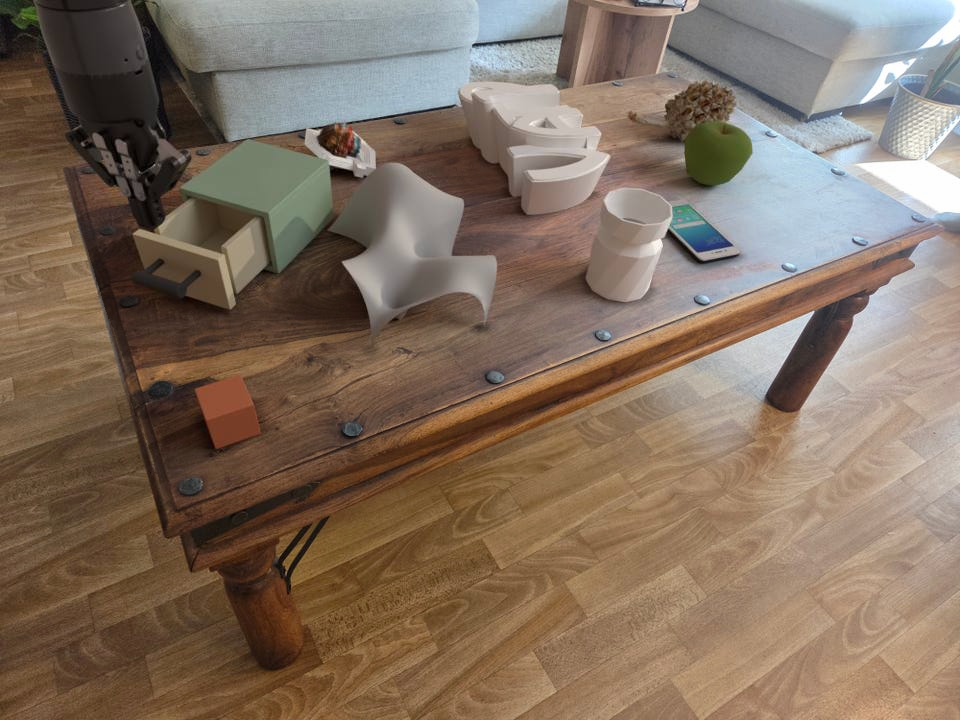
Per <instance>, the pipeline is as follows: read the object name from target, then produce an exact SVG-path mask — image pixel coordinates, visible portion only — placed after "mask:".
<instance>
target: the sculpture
mask: <svg viewBox="0 0 960 720" xmlns="http://www.w3.org/2000/svg"><path fill="white" fill-rule="evenodd" d="M464 209H465V201H464V199H463V198H461V197H458V196H455V195H452V194H448V193H446V192H444V191H443V190H440V189H439V188H437V187H435V186H433V185H432V184H430V183H429V182H427V181H426V180H424V179H423V178H422V177H420V176H419V175H417V174H416V173H414V171H412V170H411V169H410V168H409V167H408V166H406V165H404V164H402V163H399V162H387V163H384V164H381V165H379V166H377V167H376V169H375V170H374V171H372V172H371V173H370V174H369V175H368V176H366V177H365V178H364V179H363V180H362V182H361V183H360V184H359V186H358V187H357V188H356V190H354V193H353V194H352V196H351V197H350V199H349V200H348V202H347V203H346V205H345V206H344V208H343V210H342V211H341V212H340V214H339V216H338V217H337V219H336V220H335V221H334V222H333V223H332V224H331V226H329V227H328V229H327V230H326V231H327V232H331V233H335V234H339V235H341V236H344V237H346V238H349V239H352V240H354V241H356V242H358V243H359V244H361V245H362V246H364V247H365V248H366V249H365V250H364V251H363V252H362V253H360V254H358V255H357V256H355V257H353V258H349V259H346V260H341V263H342V265H343V266H344V268H345V269H346V270H347V271H348V273H349V274H350V276H351V277H352V279H353V280H354V282H355V284H356V285H357V287H358V289H359V292H360V293H361V295H362V297H363V300H364V303H365V305H366V310H367V313H368V318H369V327H370V341H369V350H370V349H371V347H372V345H373V343H374V341H375V339H376V338H377V337H378V335H379V333H380V332H382V330H383V329H384V328H385V326H387V324H389V322H391V321H392V320H393V319H397V320H398V321H401V320H403V318H404V317H405V315H406V314H407V312H408V311H409V309H411V308H413V307H416V306H418V305H421V304H423V303H426V302H429V301H432V300H435V299H437V298H439V297H442V296H446V295H448V294H449V295H450V294H453V293H454V294H455V293H466V294H470V295H472V296H474V297H475V298H477V300H478V301H479V302H480V303H481V305H482V308H483V313H484V321H483V322H484V323H483V326H485V325H486V321H487V318H488V315H489V311H490V307H491V303H492V300H493V295H494V291H495V287H496V286H495V285H496V281H497V273H498V261H497V258H496V256H495V255H493V254H488V255H453V250H454V245H455V241H456V237H457V235H458V231H459V228H460V224H461V221H462V218H463V214H464Z"/></svg>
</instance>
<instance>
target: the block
mask: <svg viewBox="0 0 960 720" xmlns="http://www.w3.org/2000/svg"><path fill="white" fill-rule="evenodd" d="M194 392H195V396H196V398H197V401H198V405H199V407H200V410H201V414H202V416H203V419H204V422H205V425H206V427H207V428H206V429H207V430H208V433H209V436H210V438H211V441H212V444H213V446H214V449H215V450H218V449H222V448H223V447H227V446H229V445H233V444H235V443H238V442H241V441H243V440H246V439H249V438H252V437H256V436H258V435H261V429H260V424H259V420H258V416H257V412H256V408H255V404H254V402H253V400H252V398H251V395H250V393H249V390H248V388H247V385H246V384H245V381H244V379H243V377H242V375H241V374H238V375H234V376H232V377H228V378H225V379H221V380H219V381H215V382H212V383H209V384H205V385H203V386H199V387H195V388H194Z"/></svg>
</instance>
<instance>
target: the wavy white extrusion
mask: <svg viewBox="0 0 960 720" xmlns="http://www.w3.org/2000/svg"><path fill="white" fill-rule="evenodd" d="M457 95H458V98H459V102H460V105H461V108H462V112H463V115H464V118H465V122H466V125H467V129H468V131H469V135H470V138H471V141H472V145H473V146H474V147H476V148H477V149H479V150H480V153H481V156H482V158H483V159H484V160H485V161H487V162H488V163H490V164H499V165H500V168H501V169H502V170H503V172H504V173H505V174H506V175H507V178H508V179H507V180H508V192H509V194H510V195H511V196H512V197H513V198H516V197H521V200H520V208H521V210H522V211H523V212H524V213H525V214H526V215H527V216H530V215H531V216H533V215H544V214H545V215H546V214H552V213H557V212H562V211H565V210H568V209H571V208H573V207H576V206H578V205H579V204H581V203H583V202H585V201H586V200H587V199H588V198H589V197H590V196H591V195H592V193H593V191H594V190H595V188H596V186H597V184H598V182H599V181H600V178H601V177H602V175H603V172H604V170H605V168H606V167H607V165H608V163H609V160H611V159H610V158H611V157H612V155H610V154H609V153H607V152H604V151H603V152H602V151H599V150H597V149H598V147H599V143H600V140H601V137H602V132H601V131H600V129H599V128H598V127H596V126H595V125H591V126H582V124H583V119H584V115H583V113H582V112H581V111H580V110H579V109H578V108H577V107H570V106H569V105H568V104H562V105H560V99H561V97H560V96H561V92H560V90H559V88H557V86H555V85H554V84H551V83H546V84H535V85H524V84H520V83H514V82H503V81H474V82H473V81H472V82H468V83H465V84H463V85H462V86H460V87H459V88H458V90H457Z"/></svg>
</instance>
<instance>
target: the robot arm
mask: <svg viewBox="0 0 960 720" xmlns="http://www.w3.org/2000/svg"><path fill="white" fill-rule="evenodd" d="M33 3H34V6H35V9H36V14H37V18H38V23H39V28H40V31H41V35H42V37H43V41H44V43H45V47H46V48H47V52H48V55H49V57H50V60H51V63H52V66H53V68H54V71H55V74H56V76H57V80H58V83H59V86H60V87H61V91H62V93H63V96H64V99H65V103H66V105H67V107H68V109H69V111H70V112H71V114H72V115H74V116H75V117H76V118H78V122H79V125H78V126H76V127H75V128H73V129H71V130H69V131H67V132H66V133H65V135H64V136H65V139H66V141H67V142H68V143H69V144H70V145H71V147H72V148H74V150H75V151H76V152H77V153H78V154H79V156H81V157H82V159H83V160H84V161H85V162H86V163H87V164H88V165H89V166H90V167H91V169H92V170H93V172H94V173H96V175H97V176H98V177H99V178H100V179H101V180H102V182H104V183H105V184H106V186H108V187H110V188H111V187H112V188H113V187H115V186H116V187H117V188H119V190H120V192H121V193H122V195H124V196H125V197H127V198H126V199H127V201H128V205H129V208H130V210H131V213H132V216H133V218H134V220H135V221H136V224H137V226H138V227H139V228H143V229H144V230H145V229H146V230H149V231H154V230H155V229H156V228H157V227H159V226H160V225H161V224H162V223H163V222H164V220H165V217H166V213H165V209H164V206H163V202H162V199H161V198H162V197H163V196H164V195H166V194H167V193H169V192H170V191H172V190H174V189H175V188H176V186H177V184H178V183H179V181H180V180H181V178H182V176H183V174H184V173H185V171H186V169H187V168H188V167H189V165H190V163H191V162H192V160H193V157H192V154H191V153H190V152H189V151H188V150H187V149H185V148H183V149H181V150H177V148H175V147H174V146H173V145H172V144H171V142H169V141H167V133H166V130H165V128H164V127H163V125H162V124H161V122H160V120H159V118H158V109H159V104H160V96H159V94H158V89H157V85H156V82H155V77H154V74H153V70H152V66H151V62H150V58H149V54H148V51H147V47H146V43H145V39H144V35H143V31H142V28H141V23H140V21H139V18H138V16H137V14H136V10H135V9H134V5H133V4H132V0H33ZM102 161H104V163H105V164H104V163H103V162H102Z"/></svg>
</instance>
